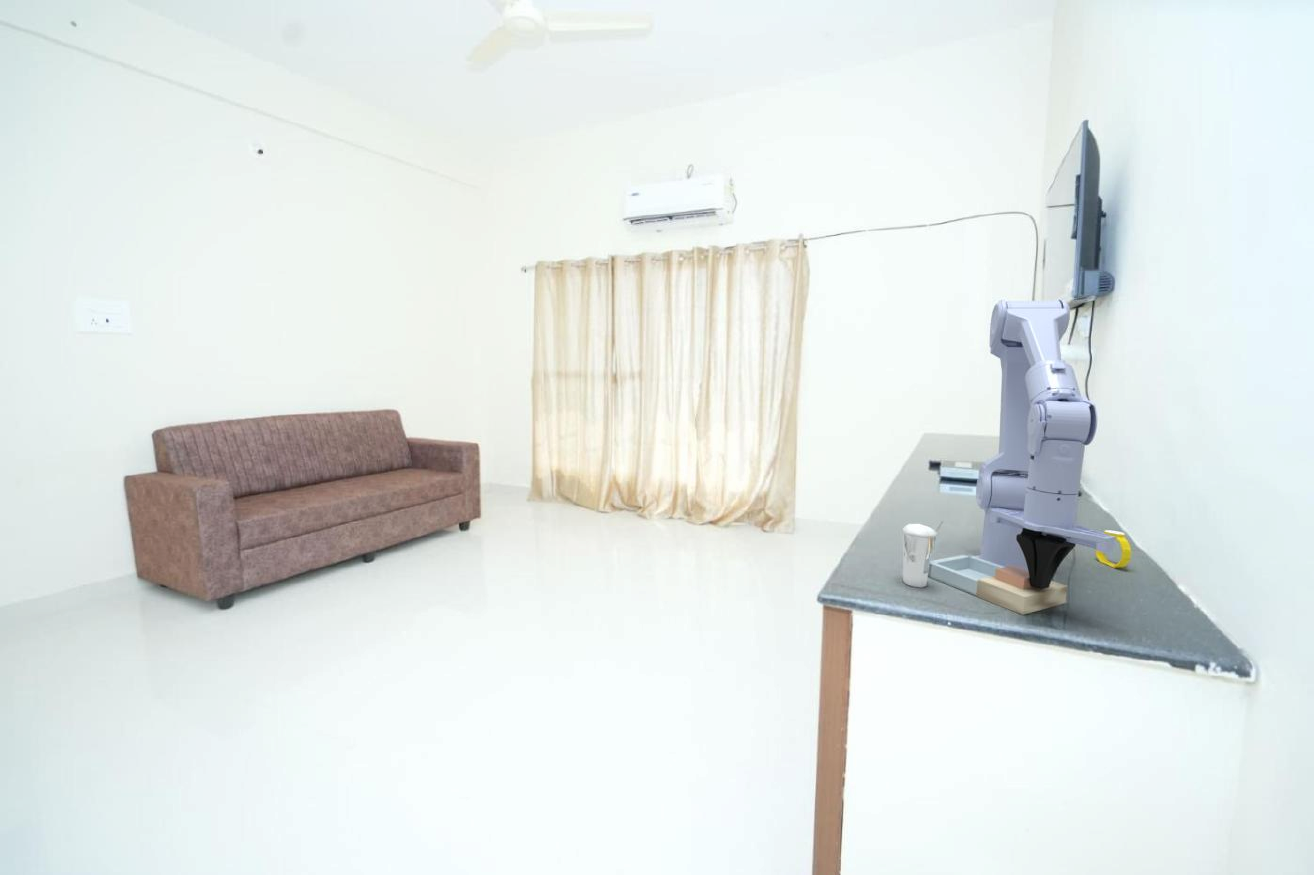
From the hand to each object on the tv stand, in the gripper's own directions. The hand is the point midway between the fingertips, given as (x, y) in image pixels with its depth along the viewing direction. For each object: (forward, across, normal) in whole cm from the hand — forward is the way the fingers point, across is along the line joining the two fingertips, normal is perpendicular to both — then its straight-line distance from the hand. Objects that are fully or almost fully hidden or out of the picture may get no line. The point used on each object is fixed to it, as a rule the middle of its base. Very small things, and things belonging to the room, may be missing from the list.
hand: (1039, 586), depth 75 cm
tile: (0, -3, 0) cm, 3 cm away
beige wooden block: (+3, -2, 0) cm, 4 cm away
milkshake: (+3, -12, -9) cm, 15 cm away
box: (+3, -10, 0) cm, 10 cm away
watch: (+3, -6, +31) cm, 32 cm away
